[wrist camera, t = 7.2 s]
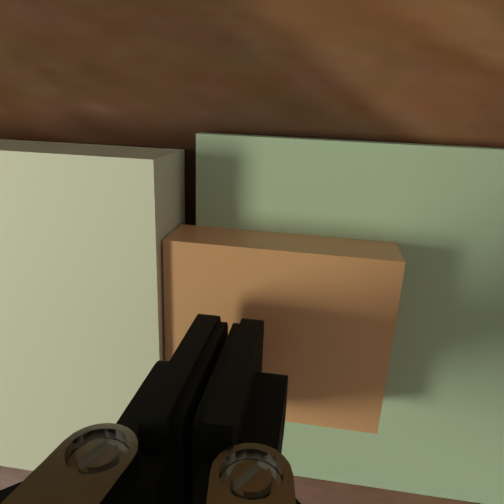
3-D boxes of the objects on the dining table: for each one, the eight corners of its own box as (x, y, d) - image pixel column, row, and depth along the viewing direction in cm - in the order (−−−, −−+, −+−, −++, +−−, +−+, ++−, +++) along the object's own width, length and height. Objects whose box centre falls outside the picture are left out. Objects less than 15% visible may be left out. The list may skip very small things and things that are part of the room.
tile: (395, 242, 12) (405, 262, 11) (371, 397, 14) (377, 433, 12) (181, 224, 13) (162, 240, 11) (182, 373, 15) (165, 404, 13)
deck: (184, 149, 13) (153, 160, 10) (186, 435, 16) (163, 491, 14) (-151, 130, 14) (-244, 135, 12) (-88, 395, 17) (-152, 441, 15)
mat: (631, 154, 11) (647, 157, 11) (527, 495, 15) (535, 511, 14) (201, 132, 13) (196, 133, 12) (200, 448, 16) (196, 460, 16)
